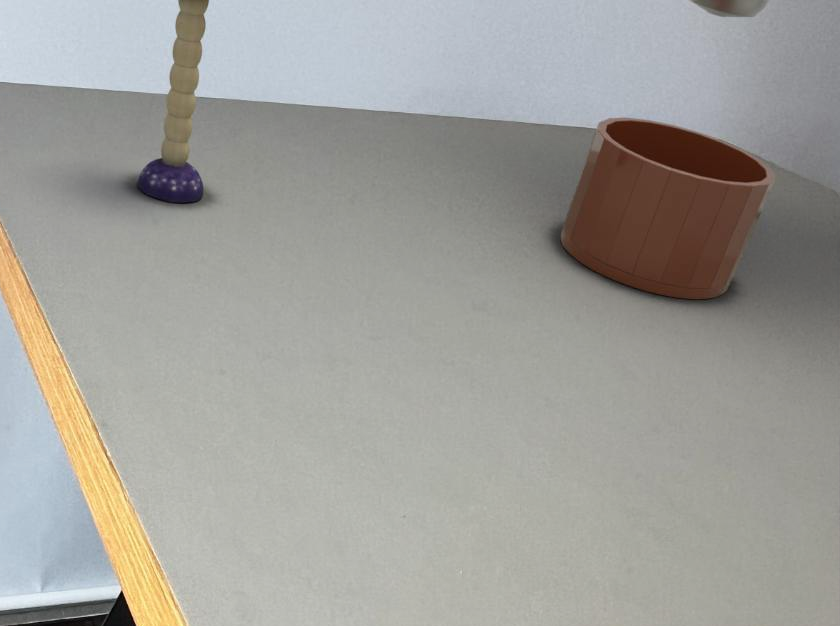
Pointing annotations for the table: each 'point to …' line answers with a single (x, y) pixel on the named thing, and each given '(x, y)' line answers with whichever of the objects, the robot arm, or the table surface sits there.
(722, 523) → the table surface
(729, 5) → the plastic bottle
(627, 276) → the crock
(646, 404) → the table surface
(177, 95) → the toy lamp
